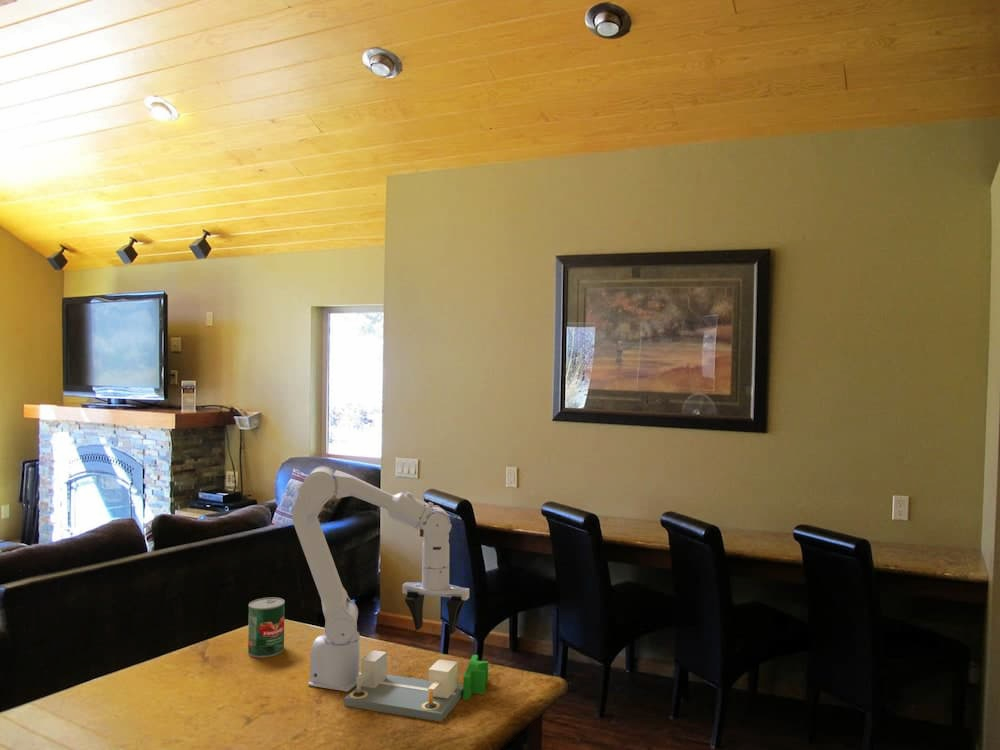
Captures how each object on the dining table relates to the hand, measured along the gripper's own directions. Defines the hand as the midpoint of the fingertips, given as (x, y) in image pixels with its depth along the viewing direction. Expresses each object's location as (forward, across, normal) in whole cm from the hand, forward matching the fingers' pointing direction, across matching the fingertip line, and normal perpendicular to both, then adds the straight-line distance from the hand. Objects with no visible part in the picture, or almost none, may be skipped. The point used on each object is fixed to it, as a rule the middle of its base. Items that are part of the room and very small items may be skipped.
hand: (435, 630), depth 143 cm
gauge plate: (+9, +1, +12) cm, 15 cm away
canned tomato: (+10, +42, 0) cm, 43 cm away
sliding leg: (+8, -6, +12) cm, 15 cm away
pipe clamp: (+10, -10, +3) cm, 14 cm away
